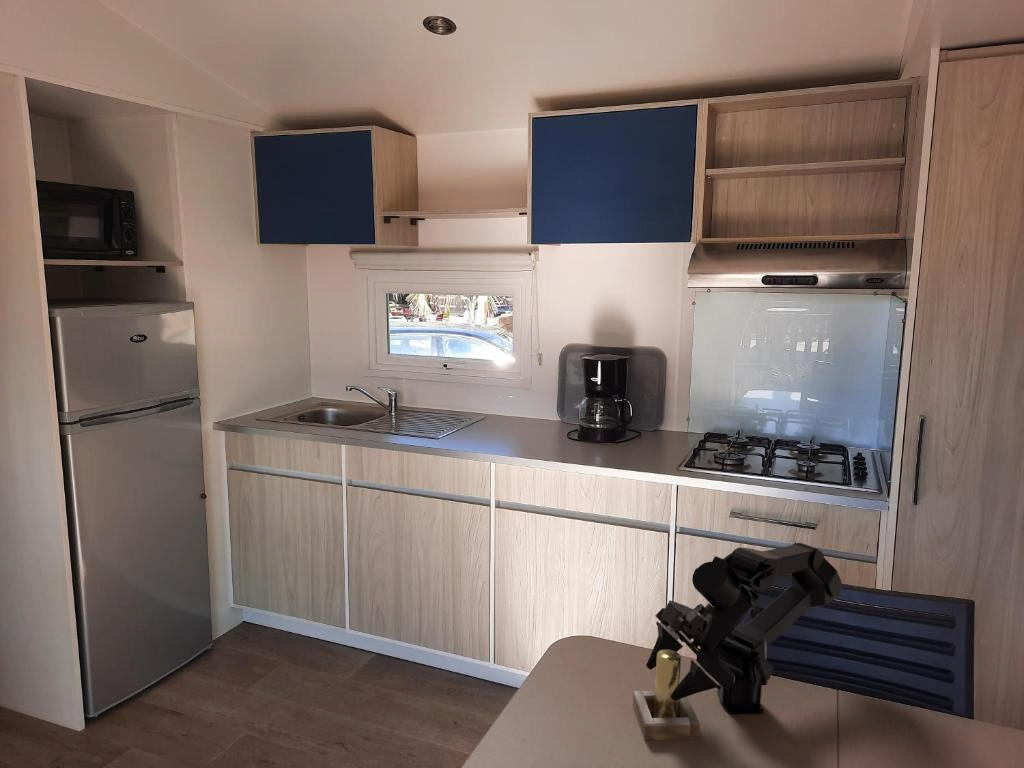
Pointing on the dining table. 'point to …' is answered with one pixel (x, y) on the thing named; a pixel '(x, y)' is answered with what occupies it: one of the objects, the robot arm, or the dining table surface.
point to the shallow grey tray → (665, 719)
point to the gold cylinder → (666, 683)
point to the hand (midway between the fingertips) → (659, 682)
